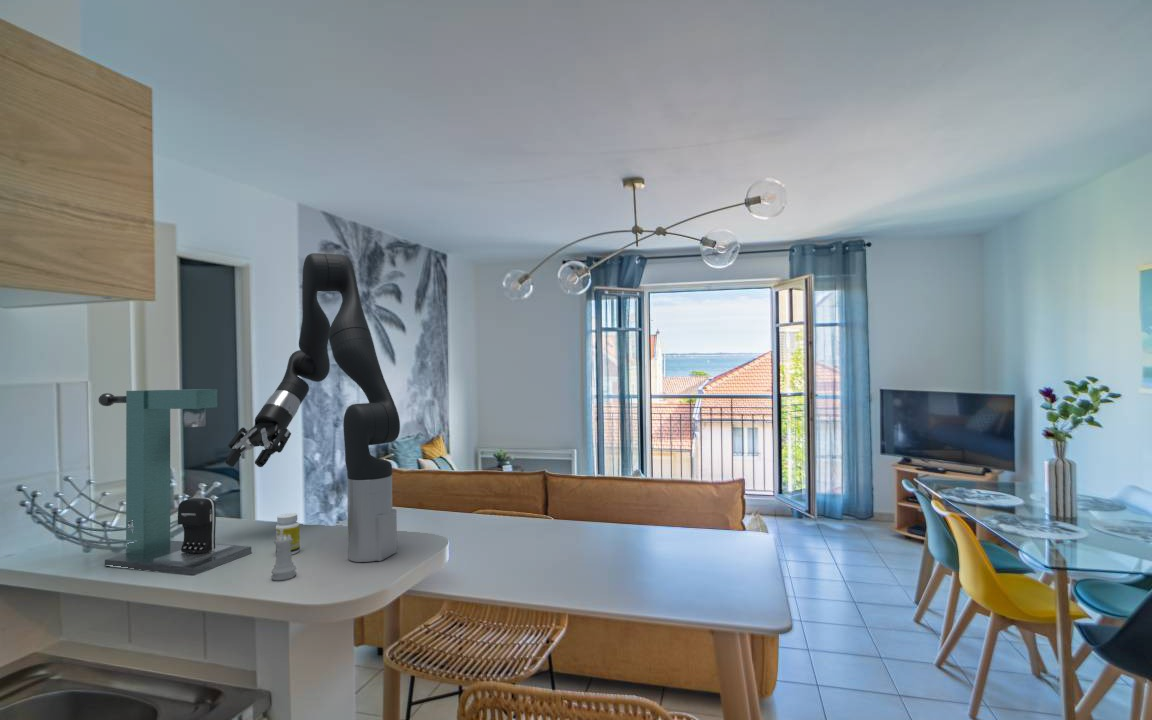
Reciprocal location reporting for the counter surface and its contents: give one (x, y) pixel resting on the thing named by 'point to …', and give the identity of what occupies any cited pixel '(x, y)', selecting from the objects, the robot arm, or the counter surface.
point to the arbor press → (160, 481)
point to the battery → (198, 524)
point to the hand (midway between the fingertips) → (243, 465)
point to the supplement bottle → (289, 530)
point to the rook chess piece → (283, 560)
